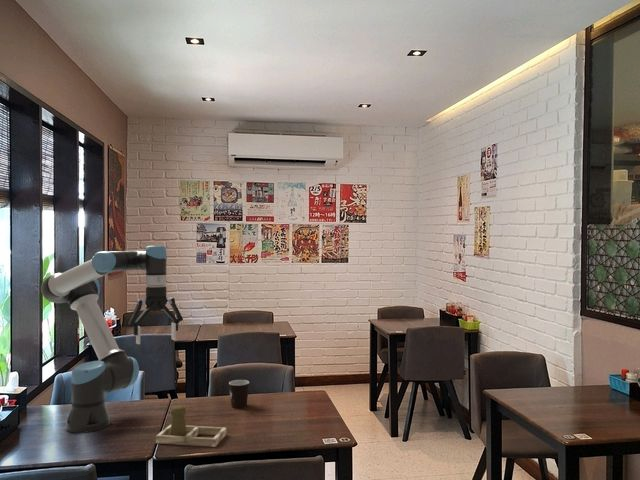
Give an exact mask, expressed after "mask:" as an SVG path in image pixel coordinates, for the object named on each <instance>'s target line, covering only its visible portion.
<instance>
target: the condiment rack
mask: <svg viewBox="0 0 640 480" xmlns="http://www.w3.org/2000/svg"><path fill="white" fill-rule="evenodd" d="M171 424H172V423H171ZM171 424H169V425H168V426H167V427H165V428H164V429H163V430H162V431H160V432H158V433H157V435H155V444H166V445H178V446H179V445H180V446H181V445H182V446H196V447H211V448H213V447H214V448H215V447H217V446H218V445H219V443H220V442H221V441H222V440H223V439H224V438H225V437H226V436H227V427H222V426H205V425H204V426H203V425H188V424H186V432H187V435H186V436H172V435H170V432H171ZM198 435H206V436H207V435H208V436H209V435H211V436H214V437H204V436H203V437H201V436H198Z"/></svg>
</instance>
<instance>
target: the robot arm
mask: <svg viewBox="0 0 640 480" xmlns="http://www.w3.org/2000/svg"><path fill="white" fill-rule="evenodd" d="M167 258H168V256H167V248H166V246H164V245H147V246H146V247H145V250H119V251H118V250H117V251H116V250H114V251H113V250H112V251H109V250H103V251H98V252H95V254H94V255H93V256H92V258H91V259H90V260H87V261H85V262H83V263H81V264H78V265H76V266H74V267H73V268H70V269H68V270H66V271H64V272H57V273H54V274H51V275H50V276H48V277H46V278H45V279H44V280H43V281H42V283H41V285H40V292H41V294H42V296H43V298H44V299H45V300H46V301H48V302H49V303H50V302H51V303H53V304H64V303H65V304H66V303H68V305H69V307H70V309H71V310H73V311H76V312H77V315H78V318H79V320H80V322H81V324H82V327H83V328H84V331H85V333H86V335H87V337H88V339H89V341H90V344H91V346H92V348H93V350H94V352H95V354H96V357H97V358H98V360H92V361H86V362H83V363H81V364H78V365H76V366H75V367H73V368H72V371H71V378H70V382H71V408H70V412H69V415H68V416H67V420H66V423H65V424H66V425H65V426H66V431H67V432H70V433H75V434H76V433H77V434H78V433H79V434H83V433H91V432H96V431H100V430H102V429H105V428H107V427H108V426H109V425H110V424H111V417H110V414H109V411H108V407H107V406H106V394H109V393H112V392H116V391H118V390H123V389H126V388H129V387H131V386H133V385H134V384H135V383H136V382H137V380H138V378H139V373H140V366H139V363H138V360H137V359H136V358H135V357H132V356H128V355H127V352H126V351H125V350H123V349H121V348H119V346H118V344H117V341H116V339H115V337H114V335H113V333H112V331H111V328H110V327H109V324H108V322H107V319H106V318H105V316H104V315H103V312H102V310H101V308H100V305H99V304H98V300H99V298H100V297H99V295H100V292H101V289H100V288H101V287H100V283H99V280H98V279H99V278H101V277H104V276H106V275H109V274H111V273H113V272H126V271H127V272H128V271H145V286H146V288H145V300H144V299H143V300H142V299H137V301H136V306H135V308H134V310H133V312H132V315H131V316H130V318H129V320H128V322H127V324H128V325H129V326H132V328H133V331H132V332H133V336H135V344H136V345H141V326H139V325H141V323H142V322H143V320H144V319H145V318H146V317H147V315H148V314H149V313H150V312H151V311H152V312H156V311H159V312H160V311H162V310H163V312H164V313H165V314H166V315H167V316H168V317H169V318H170V319H171V321H172V322H171V323H170V324H171V326H170V327H171V330H170V331H171V333H170V334H171V340H173V341H177V332H178V331H179V323H180V322H182V321H183V320H184V318H183V316H182V314H181V312H180V310H179V308H178V306H177V304H176V300H175V297H169V298H168V297H167V286H166V285H167ZM167 304H170V306H171V308H172V311H173V313H172V311H171V310H170V309H169V307H167V306H166V305H167ZM144 305H145V306H146V307H145V308H144V310H143V311H142V312H141V314H140V315H139V313H140V311H141V309H142V307H143V306H144ZM138 315H139V316H138Z"/></svg>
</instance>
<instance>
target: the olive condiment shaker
mask: <svg viewBox="0 0 640 480" xmlns="http://www.w3.org/2000/svg"><path fill="white" fill-rule="evenodd" d="M186 413H187V408H186V407H185V406H184V405H181V404H180V405H175V406H172V407H171V409H170V415H171V416H172V417H171V418H172V419H171V432H170V435H172V436H186V435H187V432H186V425H187V424H186V418H185V415H186Z"/></svg>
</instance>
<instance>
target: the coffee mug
mask: <svg viewBox="0 0 640 480" xmlns="http://www.w3.org/2000/svg"><path fill="white" fill-rule="evenodd" d="M228 387H229V397H230V407H231V408H233V409H239V410H240V409H245V408H246V407H247V406H248V405H247V404H248V396H249V388H250V381H249V380H247V379H235V380H231V381H229V382H228Z"/></svg>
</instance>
